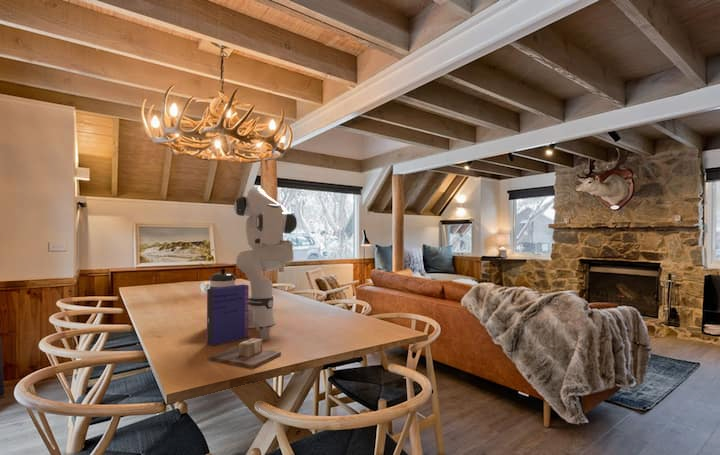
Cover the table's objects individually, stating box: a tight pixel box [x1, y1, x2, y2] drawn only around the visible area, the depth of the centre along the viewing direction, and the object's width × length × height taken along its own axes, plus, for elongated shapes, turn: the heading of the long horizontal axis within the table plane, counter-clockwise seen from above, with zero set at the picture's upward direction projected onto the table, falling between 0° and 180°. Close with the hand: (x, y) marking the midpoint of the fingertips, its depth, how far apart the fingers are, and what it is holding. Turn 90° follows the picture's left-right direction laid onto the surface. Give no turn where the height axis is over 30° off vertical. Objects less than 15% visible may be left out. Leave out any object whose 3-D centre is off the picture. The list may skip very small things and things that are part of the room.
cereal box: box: [206, 284, 250, 347], centre depth 165 cm, size 17×5×24 cm, turn 141°
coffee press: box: [209, 267, 237, 289], centre depth 190 cm, size 17×16×30 cm
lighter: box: [253, 322, 271, 341], centre depth 167 cm, size 7×2×8 cm, turn 103°
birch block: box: [238, 337, 263, 357], centre depth 145 cm, size 4×4×8 cm
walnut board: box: [206, 344, 282, 369], centre depth 143 cm, size 22×16×1 cm
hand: (272, 271), depth 165 cm, fingers open, 8 cm apart
